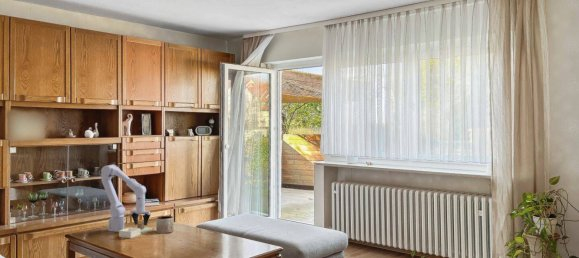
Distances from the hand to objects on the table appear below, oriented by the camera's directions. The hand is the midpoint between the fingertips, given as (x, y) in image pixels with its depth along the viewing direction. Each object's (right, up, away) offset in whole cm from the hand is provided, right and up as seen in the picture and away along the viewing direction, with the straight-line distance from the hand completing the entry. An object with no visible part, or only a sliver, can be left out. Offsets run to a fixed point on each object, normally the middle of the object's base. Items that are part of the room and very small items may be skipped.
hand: (140, 224), depth 296 cm
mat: (0, -4, 0) cm, 4 cm away
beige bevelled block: (-2, -4, -15) cm, 16 cm away
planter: (+17, -4, -3) cm, 18 cm away
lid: (0, -4, 0) cm, 4 cm away
